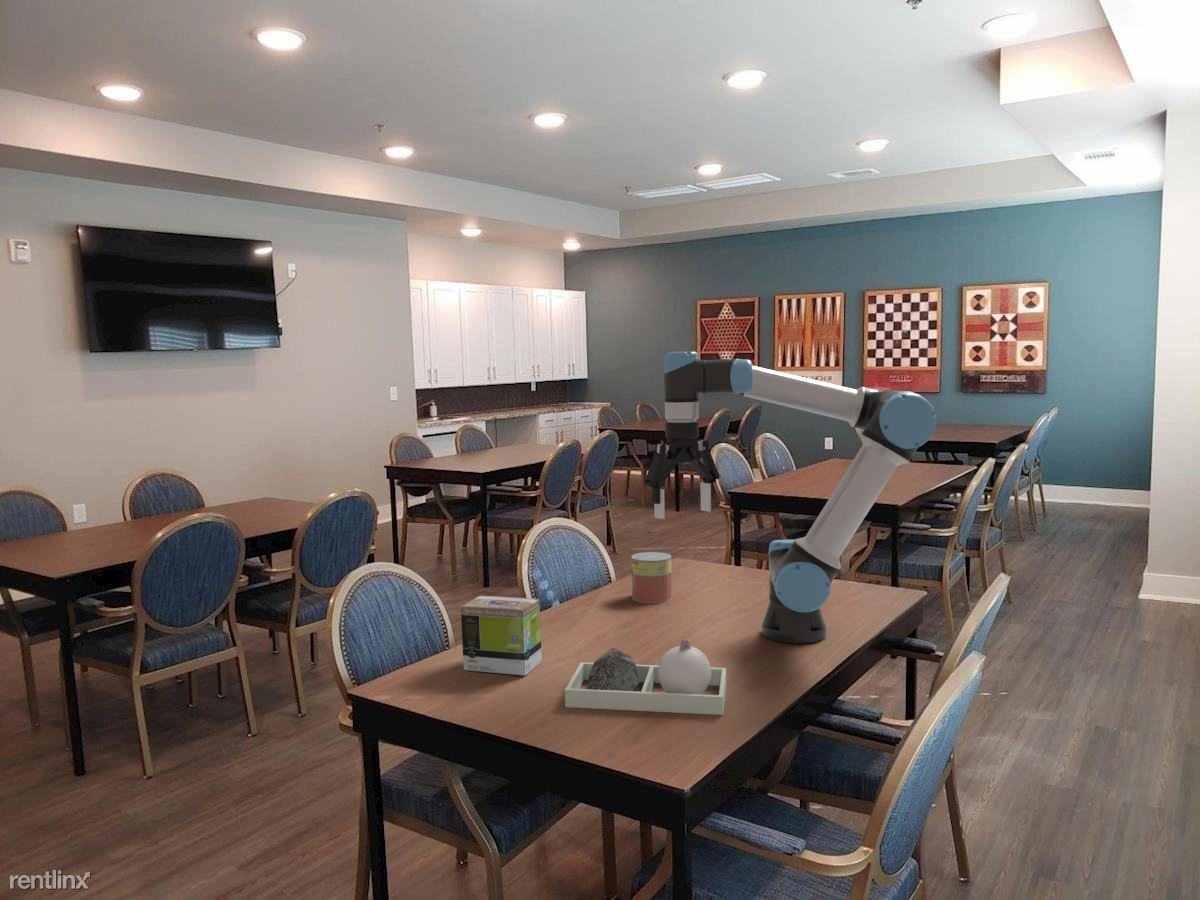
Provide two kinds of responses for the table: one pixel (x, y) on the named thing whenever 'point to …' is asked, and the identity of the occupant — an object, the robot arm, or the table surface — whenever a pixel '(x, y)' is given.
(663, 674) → the ornament
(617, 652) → the stone
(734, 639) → the table surface
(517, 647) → the tea box
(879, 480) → the robot arm
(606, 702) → the holder
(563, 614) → the table surface
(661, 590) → the canned food
